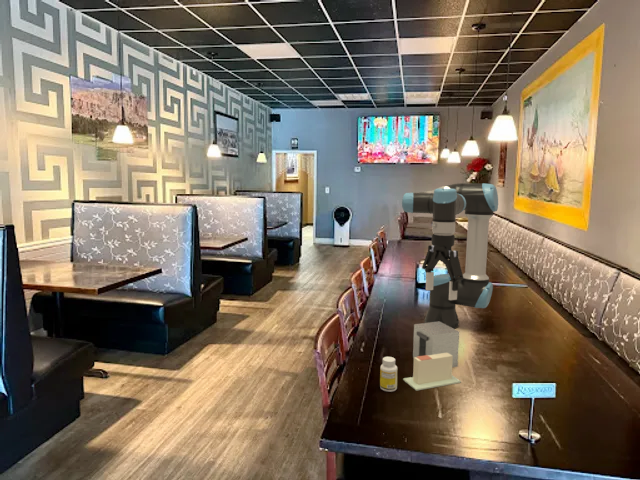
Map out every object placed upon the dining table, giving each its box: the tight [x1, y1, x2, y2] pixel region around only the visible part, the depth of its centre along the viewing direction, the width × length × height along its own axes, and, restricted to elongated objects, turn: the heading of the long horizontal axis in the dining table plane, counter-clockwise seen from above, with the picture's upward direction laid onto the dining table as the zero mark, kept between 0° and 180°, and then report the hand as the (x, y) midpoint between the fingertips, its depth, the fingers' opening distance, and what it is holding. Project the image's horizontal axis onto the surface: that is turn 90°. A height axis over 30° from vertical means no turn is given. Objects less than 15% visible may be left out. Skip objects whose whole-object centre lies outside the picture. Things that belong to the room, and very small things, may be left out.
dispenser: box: [412, 321, 460, 368], centre depth 161 cm, size 12×12×13 cm
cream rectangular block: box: [412, 353, 453, 385], centre depth 146 cm, size 13×3×8 cm, turn 110°
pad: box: [402, 374, 462, 391], centre depth 147 cm, size 17×8×1 cm, turn 110°
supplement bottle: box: [379, 356, 398, 393], centre depth 141 cm, size 5×5×10 cm
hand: (440, 294), depth 154 cm, fingers open, 13 cm apart
